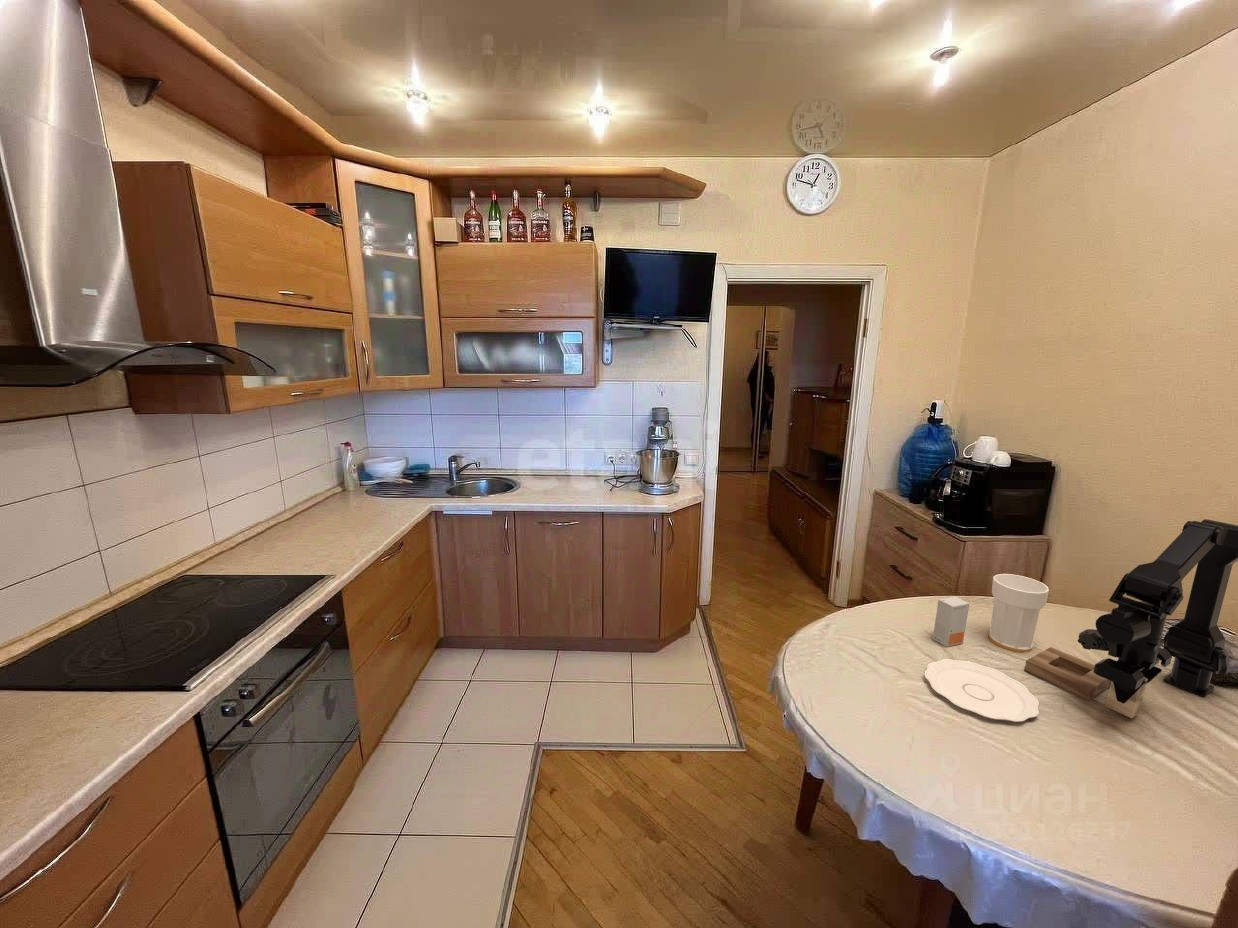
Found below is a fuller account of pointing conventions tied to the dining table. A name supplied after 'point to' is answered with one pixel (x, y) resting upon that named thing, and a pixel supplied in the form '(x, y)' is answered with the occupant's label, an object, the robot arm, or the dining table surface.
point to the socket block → (1067, 673)
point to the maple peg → (1129, 706)
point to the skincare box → (950, 621)
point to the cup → (1016, 611)
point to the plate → (982, 690)
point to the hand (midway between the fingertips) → (1125, 698)
